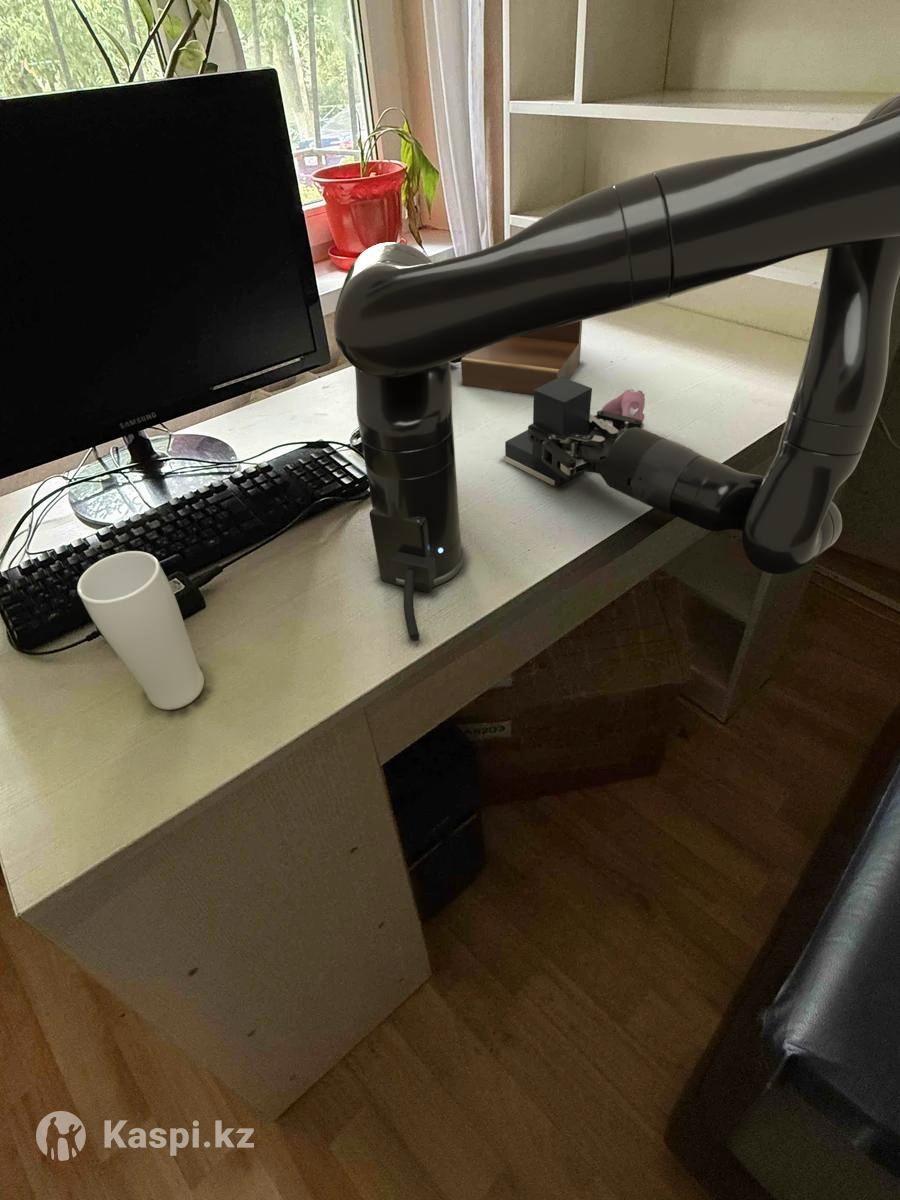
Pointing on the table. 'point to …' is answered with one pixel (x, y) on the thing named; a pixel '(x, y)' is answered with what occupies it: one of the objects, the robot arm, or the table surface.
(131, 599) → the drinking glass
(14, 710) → the table surface
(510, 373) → the wooden l-shaped stand
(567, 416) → the dark l-shaped block
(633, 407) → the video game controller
